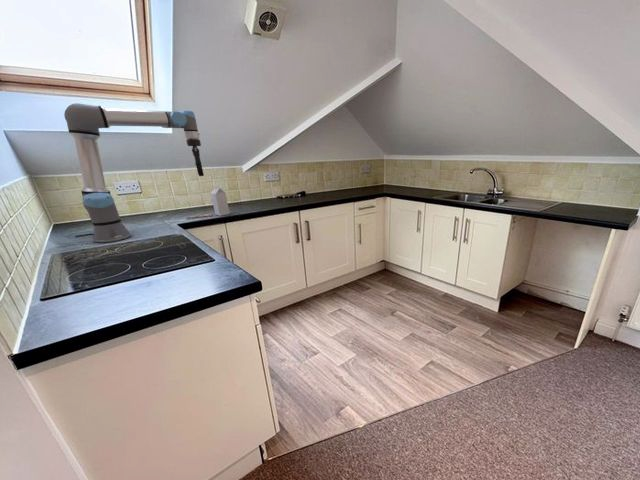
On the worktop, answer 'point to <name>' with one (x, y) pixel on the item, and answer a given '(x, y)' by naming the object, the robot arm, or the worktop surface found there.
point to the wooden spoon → (200, 216)
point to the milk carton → (219, 201)
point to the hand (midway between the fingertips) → (201, 175)
